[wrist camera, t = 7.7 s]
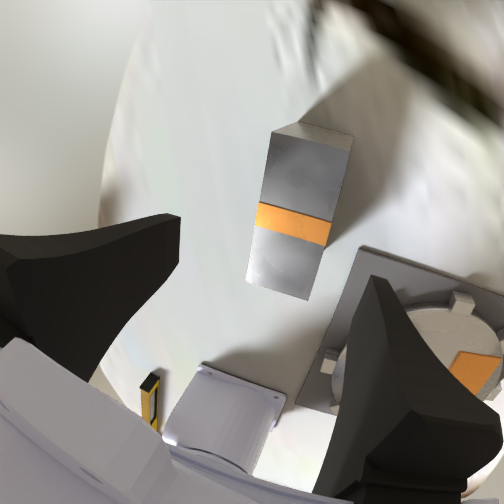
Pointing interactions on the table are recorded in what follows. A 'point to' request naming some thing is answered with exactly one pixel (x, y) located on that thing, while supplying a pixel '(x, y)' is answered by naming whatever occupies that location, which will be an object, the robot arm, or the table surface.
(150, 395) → the spirit level
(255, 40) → the table surface
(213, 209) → the table surface
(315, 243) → the orange striped gray block
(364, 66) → the table surface
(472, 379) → the sprocket
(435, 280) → the base plate
